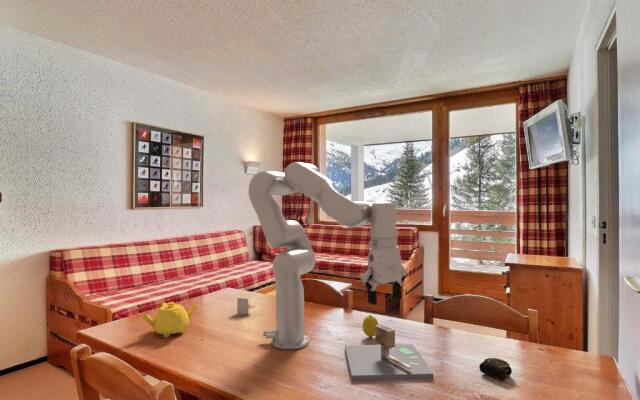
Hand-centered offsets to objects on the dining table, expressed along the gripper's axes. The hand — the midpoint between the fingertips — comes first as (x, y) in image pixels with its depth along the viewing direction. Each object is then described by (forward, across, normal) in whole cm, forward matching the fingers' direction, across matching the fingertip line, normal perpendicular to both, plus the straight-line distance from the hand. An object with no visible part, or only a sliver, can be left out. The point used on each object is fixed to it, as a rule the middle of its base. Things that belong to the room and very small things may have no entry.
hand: (384, 301), depth 106 cm
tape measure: (+19, +20, -22) cm, 35 cm away
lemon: (+18, +9, +18) cm, 27 cm away
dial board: (+18, 0, 0) cm, 18 cm away
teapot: (+18, -50, +62) cm, 82 cm away
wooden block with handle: (+17, 0, -3) cm, 17 cm away
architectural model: (+18, -19, +69) cm, 74 cm away
